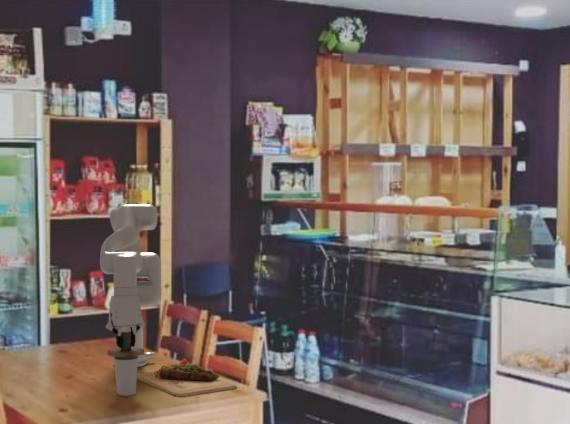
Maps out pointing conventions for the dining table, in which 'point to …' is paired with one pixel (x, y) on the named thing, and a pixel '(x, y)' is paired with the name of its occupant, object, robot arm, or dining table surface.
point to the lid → (126, 348)
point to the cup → (126, 374)
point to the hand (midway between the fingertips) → (125, 346)
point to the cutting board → (185, 379)
